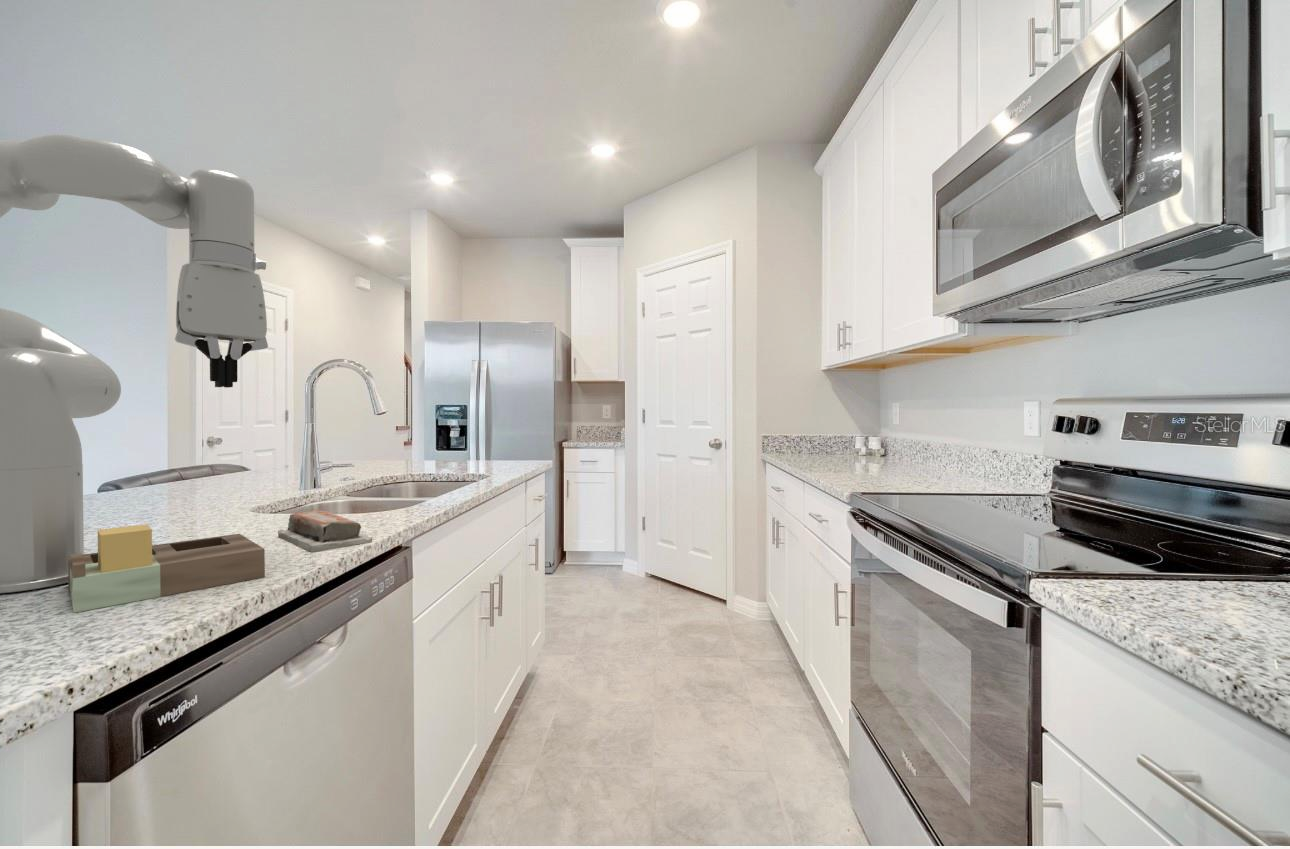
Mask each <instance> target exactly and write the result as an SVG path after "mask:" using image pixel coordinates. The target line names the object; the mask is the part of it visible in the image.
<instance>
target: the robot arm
mask: <svg viewBox="0 0 1290 849" xmlns="http://www.w3.org/2000/svg"><path fill="white" fill-rule="evenodd" d="M61 195H68V196H78V197H87V198H91V199H92V198H94V199H97V200H106V201H111V202H116V203H119V204H121V205H123V206H124V207H126V208H128V209H130V210H132V211H133V212H135V213H137V214H138V215H140V216H142V217H143V218H146V219H148V220H149V221H152V222H153V223H155V224H157V225H159V226H161V227H164V228H168V229H177V230H184V229H185V230H188V241H189V243H188V245H189V246H188V249H189V250H188V251H189V253H188V255H189V256H188V259H189V261H188V262H189V263H185V264H183V265H182V266H181V269H180V272H179V277H178V278H179V279H178V282H177V292H176V293H177V294H176V305H175V307H176V308H175V309H176V311H175V325H176V333H175V337H174V340H175V342H176V343H178V344H182V345H186V346H190V347H194V348H196V349H197V350H199V351H200V352H201V353H202V354H204V356H206V358H207V359H209V381H210V382H214V388H233V386H234V383H237V382H238V379H239V378H238V360H239V359H241V358H242V357H243V356H245V355H246V354H247V353H249V352H253V351H260V350H261V351H263V350H266V349H267V348H268V347H269V344H268V340H267V337H266V336H267V329H268V328H267V327H268V323H267V320H268V319H267V311H266V310H267V309H266V301H265V295H264V289H263V284H262V281H261V280H262V279H261V276H260V275H259V274H258V273H255V272H257V270H266V269H267V262H266V260H261V259H260V258H258V257H257V254H256V252H255V192H254V189H253V187H252V186H251V184H250V183H249V182H248V181H247V180H245V179H244V178H242V177H240V176H239V175H236V174H234V173H230V172H227V171H222V170H219V169H218V170H217V169H209V168H201V169H197V170H195V171H193V172H192V173H191V174H190V175H189V178H186V177H184V176H183V175H180V174H178V173H176V172H174V171H173V170H171V169H170V168H169V167H168V166H166V165H165V164H164V163H163V162H161V161H159V160H158V159H157V158H155V157H154V156H152V154H151V155H150V154H149V153H147V152H145V151H144V150H141V149H139V148H136V147H133V146H130V145H126V144H123V143H120V142H119V143H118V142H114V141H109V140H108V141H107V140H101V139H96V138H89V137H84V136H75V135H69V134H68V135H67V134H47V135H42V136H39V137H38V136H37V137H32V138H29V139H27V140H24V141H19V140H18V141H17V140H9V139H1V138H0V219H1V218H2V217H4V216H5V215H6V214H7V213H9V211H11V209H13V208H15V209H22V210H29V211H45V210H48V209H51V208H52V207H54V206H55V205H57V204H58V203H57V202H58V201H59V199H60V196H61ZM219 341H227V342H228V346H227V352H226V355H224V358H223V355H222V354H221V349H220V345H219ZM121 386H122V385H121V382H120V379H119V377H118V376H117V374H116V373H115V371H114V370H113V368H111V367H110V366H109V365H108V364H107V363H105V362H104V361H103V360H101V359H99V358H98V357H97V356H95V355H94V354H92V353H91V352H89V351H87V350H85V349H84V348H82V347H81V346H79V345H77V344H76V343H75V342H73V341H71V340H70V339H68V338H66V337H64V336H63V335H62V334H60V333H58V332H57V331H55V330H53V329H52V328H50V327H49V326H47V325H45V324H44V323H42V322H40V321H38V320H36V319H34V318H32V317H29V316H27V315H25V314H22V313H19V312H17V311H13V310H10V309H6V308H1V307H0V594H7V593H8V594H9V593H16V592H17V593H18V592H24V591H30V590H37V589H45V588H48V587H49V588H50V587H54V586H58V585H64V584H68V556H70V555H71V554H79V553H82V555H84V554H85V551H84V550H85V541H84V540H85V538H84V530H85V528H84V526H85V525H84V476H83V475H84V469H83V468H84V467H83V465H84V464H83V448H82V443H81V438H80V435H79V432H78V430H77V427H76V426H75V423H74V421H73V419H83V418H85V419H86V418H91V417H92V418H93V417H96V416H99V415H101V414H104V413H106V412H108V411H110V410H111V409H112V408H113V407H114V406H115V405H116V404H117V403H118V401H119V400H120V397H121V393H122V387H121Z"/></svg>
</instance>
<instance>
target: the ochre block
mask: <svg viewBox="0 0 1290 849" xmlns="http://www.w3.org/2000/svg"><path fill="white" fill-rule="evenodd" d="M152 545H153V529H152V528H151V527H150V526H149V525H148V524H137V525H130V526H119V527H112V528H102V529H97V553H98V567H99V569H100V571H101V573H104V572H111V571H117V570H124V569H130V568H137V567H143V566H150V565H152Z"/></svg>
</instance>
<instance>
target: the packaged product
mask: <svg viewBox="0 0 1290 849" xmlns="http://www.w3.org/2000/svg"><path fill="white" fill-rule="evenodd" d="M361 528H362V526H361V524H360V523H359V522H357V521H354V520H353V519H349V518H346V517H343V516H340V515H338V514H335V513H332V512H330V511H327V510H326V511H325V510H320V509H318V510H309V511H303V512H294V513H291V514H290V515H289V518H288V524H287V529H279V530H277V536H278V538H280V539H283V540H284V541H287V542H288V543H290V544H292V545H294V546H296V547H298V548H300V549H303V550H305V551H308V552H311V553H316V552H317V553H318V552H322V551H329V550H337V549H340V548H346V547H347V548H348V547H351V546H356V545H364V544H369V543H372V542H373V536H372V537H371V536H368V535H364V534H363V533H360V532H361Z"/></svg>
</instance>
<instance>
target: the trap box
mask: <svg viewBox="0 0 1290 849" xmlns="http://www.w3.org/2000/svg"><path fill="white" fill-rule="evenodd" d="M265 551H266V550H265V547H262V546H261V545H259V544H258V543H256V542H254V541H253V540H251V539H249V538H248V537H245V536H244V535H243V534H241V533H235V534H226V535H219V536H214V537H212V536H211V537H204V538H197V539H189V540H183V541H175V542H167V543H160V544H152V565H150V566H143V567H137V568H130V569H124V570H117V571H111V572H104V573H101V571H100V569H99V567H98V552H92V553H86V554H85V553H84V555H82V553H79V554H71V555H70V556H68V583H67V584H68V591H69V596H70V602H71V607H72V613H74V614H75V613H80V612H81V613H82V612H85V611H90V610H96V609H102V608H107V607H113V606H118V605H124V604H128V603H135V602H139V601H145V600H150V599H154V598H160V597H161V598H162V597H166V596H172V595H176V594H182V593H188V592H193V591H197V590H204V589H208V588H214V587H218V586H225V585H229V584H236V583H240V582H241V583H242V582H247V581H250V580H256V579H261V578H265V576H266V575H265V574H266V573H265V570H266V569H265V568H266V567H265V565H266V562H265V560H266V559H265V558H266V557H265Z"/></svg>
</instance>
